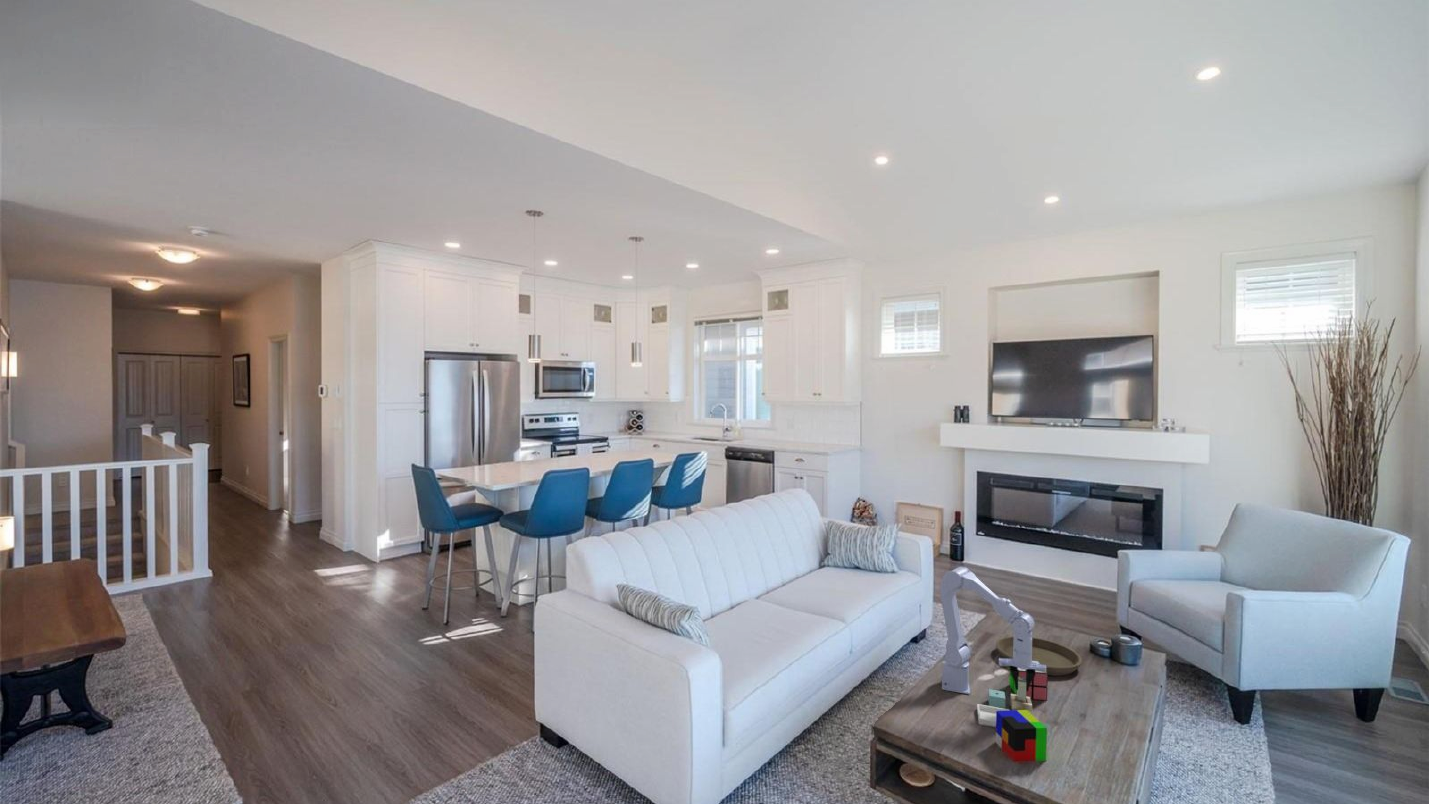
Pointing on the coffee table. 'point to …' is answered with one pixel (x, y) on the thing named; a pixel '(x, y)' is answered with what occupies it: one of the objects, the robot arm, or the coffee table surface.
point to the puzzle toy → (1021, 735)
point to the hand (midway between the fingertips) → (1021, 689)
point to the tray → (988, 714)
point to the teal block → (996, 698)
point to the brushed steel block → (1021, 689)
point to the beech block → (1020, 704)
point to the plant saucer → (1045, 655)
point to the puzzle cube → (1033, 684)
